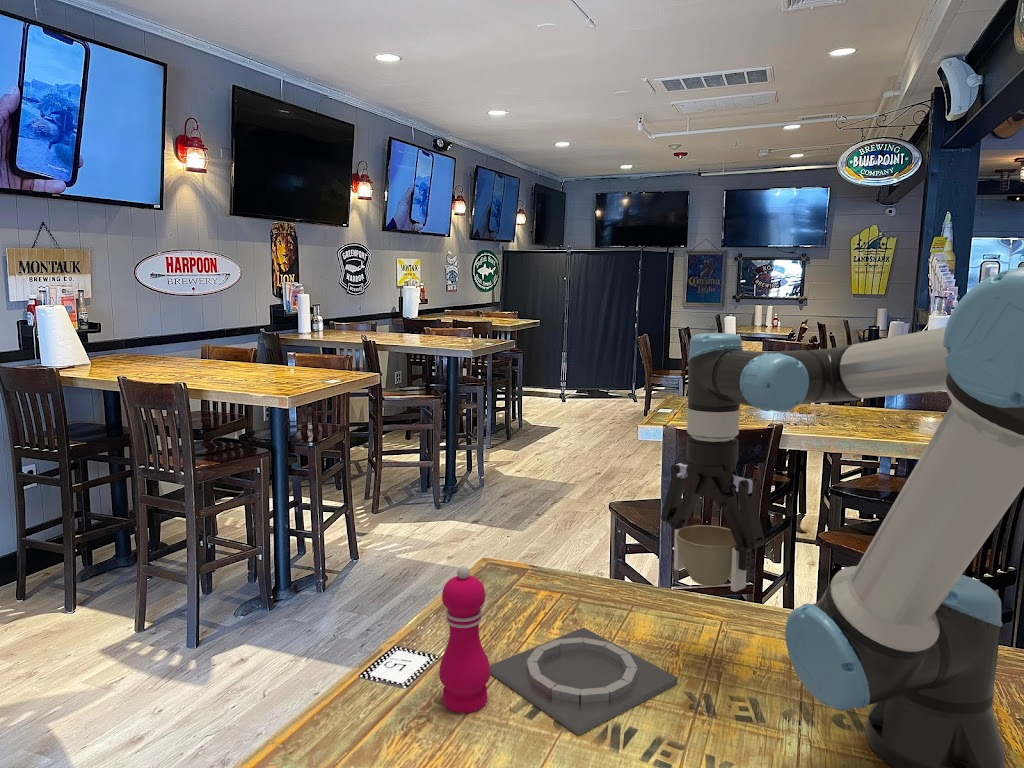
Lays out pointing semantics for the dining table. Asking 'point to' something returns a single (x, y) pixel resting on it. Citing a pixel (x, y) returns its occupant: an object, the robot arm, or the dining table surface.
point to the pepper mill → (464, 645)
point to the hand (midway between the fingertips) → (708, 577)
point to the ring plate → (582, 679)
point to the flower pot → (706, 553)
